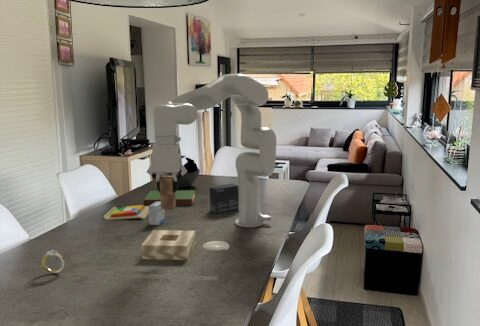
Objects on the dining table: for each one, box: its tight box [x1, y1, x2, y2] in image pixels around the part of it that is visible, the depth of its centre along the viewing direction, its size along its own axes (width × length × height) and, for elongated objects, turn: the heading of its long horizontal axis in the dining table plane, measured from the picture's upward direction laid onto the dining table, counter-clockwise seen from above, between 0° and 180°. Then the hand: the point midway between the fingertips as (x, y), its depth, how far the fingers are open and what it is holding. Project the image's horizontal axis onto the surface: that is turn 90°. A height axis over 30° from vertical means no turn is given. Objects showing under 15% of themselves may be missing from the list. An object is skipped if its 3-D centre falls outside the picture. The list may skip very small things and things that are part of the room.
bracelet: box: [41, 249, 66, 274], centre depth 145 cm, size 7×3×8 cm, turn 86°
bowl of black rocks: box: [165, 154, 201, 188], centre depth 264 cm, size 20×20×19 cm
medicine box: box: [148, 202, 166, 226], centre depth 197 cm, size 8×4×9 cm, turn 168°
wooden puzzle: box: [103, 204, 149, 221], centre depth 211 cm, size 18×19×4 cm
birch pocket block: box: [140, 229, 197, 261], centre depth 161 cm, size 16×16×6 cm
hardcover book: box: [143, 189, 196, 207], centre depth 234 cm, size 25×19×4 cm
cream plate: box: [202, 240, 230, 252], centre depth 166 cm, size 10×10×1 cm
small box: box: [209, 182, 239, 214], centre depth 216 cm, size 13×7×12 cm, turn 123°
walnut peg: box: [159, 175, 177, 210], centre depth 158 cm, size 4×4×11 cm
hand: (167, 191), depth 158 cm, fingers closed on walnut peg, 4 cm apart
